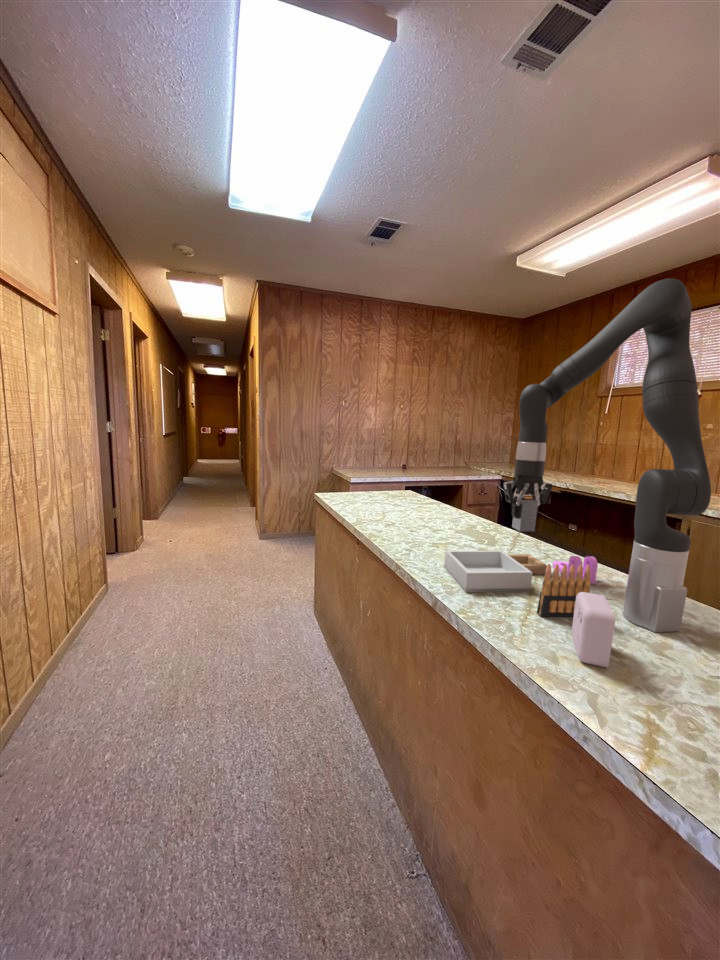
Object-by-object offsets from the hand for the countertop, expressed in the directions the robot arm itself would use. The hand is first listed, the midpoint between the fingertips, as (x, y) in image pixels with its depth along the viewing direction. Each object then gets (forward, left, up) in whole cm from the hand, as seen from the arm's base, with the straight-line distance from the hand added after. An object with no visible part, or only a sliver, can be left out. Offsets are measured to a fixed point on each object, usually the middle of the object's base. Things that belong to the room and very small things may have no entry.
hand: (524, 517), depth 108 cm
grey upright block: (0, 0, -3) cm, 3 cm away
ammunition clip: (-27, +5, -15) cm, 31 cm away
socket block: (0, -1, -15) cm, 15 cm away
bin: (-7, +14, -15) cm, 21 cm away
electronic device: (-40, +9, -15) cm, 43 cm away
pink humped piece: (-4, -13, -16) cm, 21 cm away
